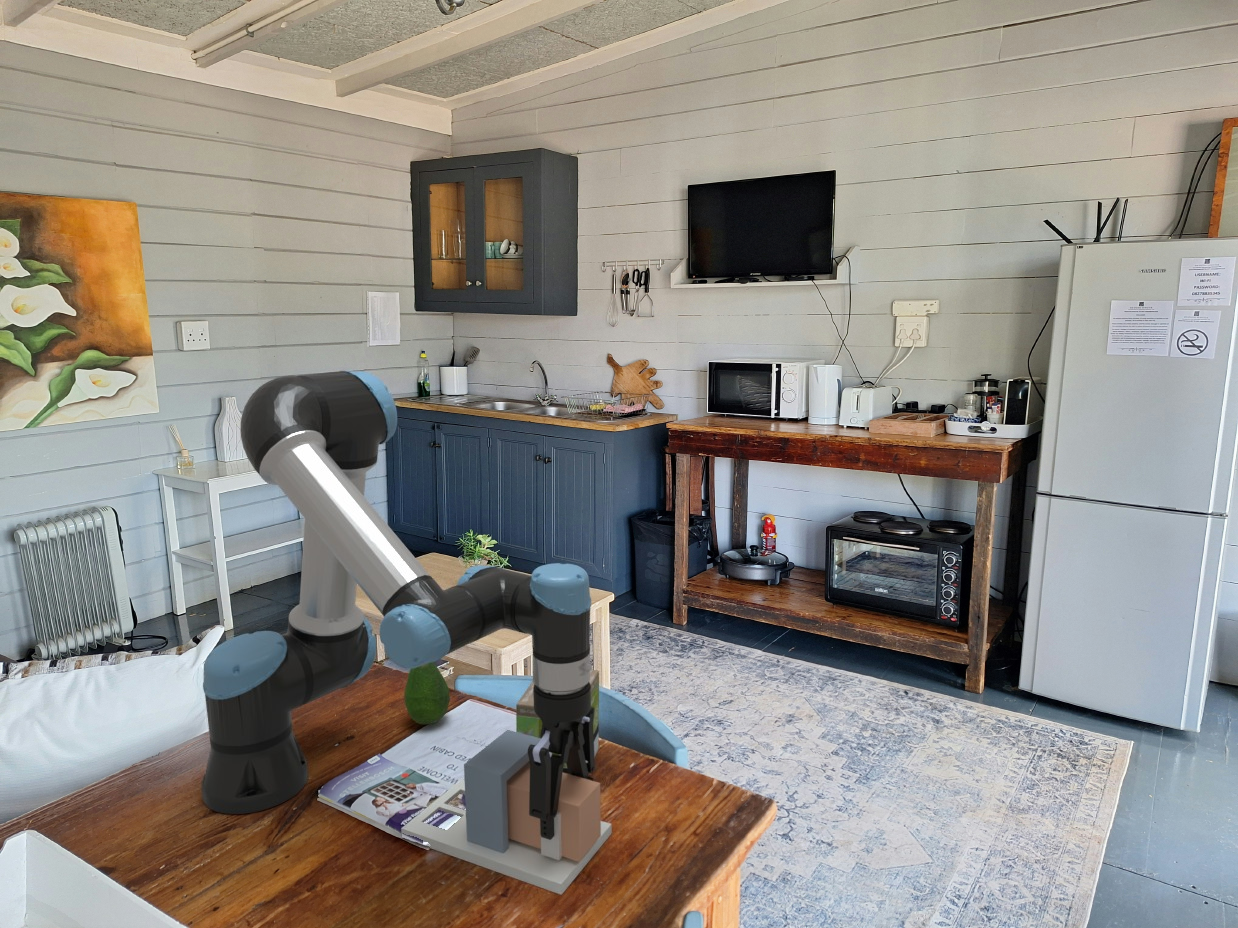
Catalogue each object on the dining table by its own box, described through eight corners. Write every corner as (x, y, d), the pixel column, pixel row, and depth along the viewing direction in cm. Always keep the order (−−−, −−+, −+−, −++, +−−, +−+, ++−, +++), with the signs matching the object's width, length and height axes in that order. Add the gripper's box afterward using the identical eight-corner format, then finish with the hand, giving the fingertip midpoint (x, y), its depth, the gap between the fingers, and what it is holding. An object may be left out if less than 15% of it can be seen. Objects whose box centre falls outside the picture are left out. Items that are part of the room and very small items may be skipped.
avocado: (396, 724, 150) (393, 662, 147) (430, 707, 156) (427, 647, 154) (427, 738, 145) (424, 673, 143) (460, 720, 151) (457, 657, 149)
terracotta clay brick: (467, 824, 117) (464, 772, 116) (491, 801, 123) (490, 751, 121) (579, 861, 110) (578, 806, 108) (600, 835, 115) (600, 782, 113)
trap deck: (401, 837, 118) (396, 753, 116) (462, 787, 130) (459, 709, 128) (561, 894, 107) (559, 801, 104) (611, 833, 119) (611, 749, 116)
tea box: (578, 800, 127) (577, 709, 124) (515, 792, 129) (512, 703, 126) (600, 749, 141) (599, 667, 139) (543, 743, 143) (541, 662, 141)
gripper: (548, 720, 100) (551, 892, 104) (620, 660, 116) (620, 811, 121) (496, 707, 103) (501, 874, 107) (573, 650, 120) (574, 797, 124)
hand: (564, 840), depth 114 cm, fingers closed on terracotta clay brick, 6 cm apart
